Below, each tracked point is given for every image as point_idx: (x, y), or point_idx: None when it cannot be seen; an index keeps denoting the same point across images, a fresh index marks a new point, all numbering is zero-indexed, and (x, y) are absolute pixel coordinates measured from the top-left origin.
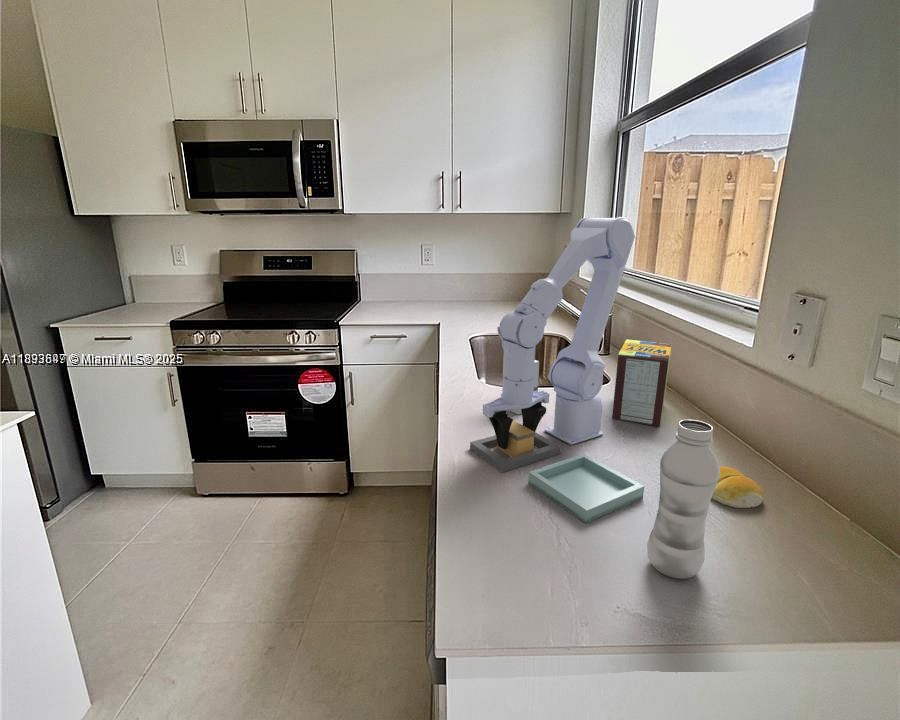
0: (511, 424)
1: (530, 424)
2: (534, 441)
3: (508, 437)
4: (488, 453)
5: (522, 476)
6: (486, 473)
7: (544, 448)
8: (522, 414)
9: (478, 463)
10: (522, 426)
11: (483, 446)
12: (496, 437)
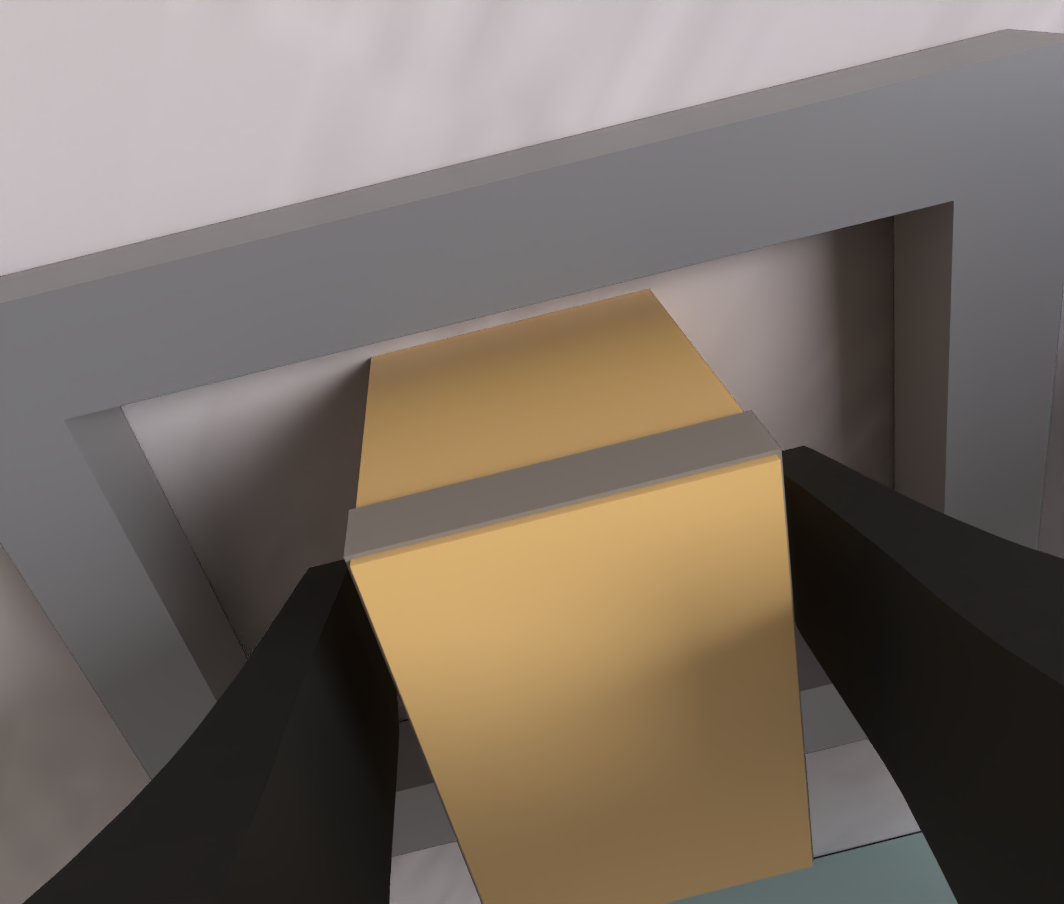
0: (622, 606)
1: (906, 742)
2: (909, 390)
3: (390, 848)
4: (119, 695)
5: (399, 885)
6: (72, 812)
7: (830, 709)
8: (979, 646)
9: (14, 647)
10: (764, 701)
11: (88, 517)
12: (265, 640)
